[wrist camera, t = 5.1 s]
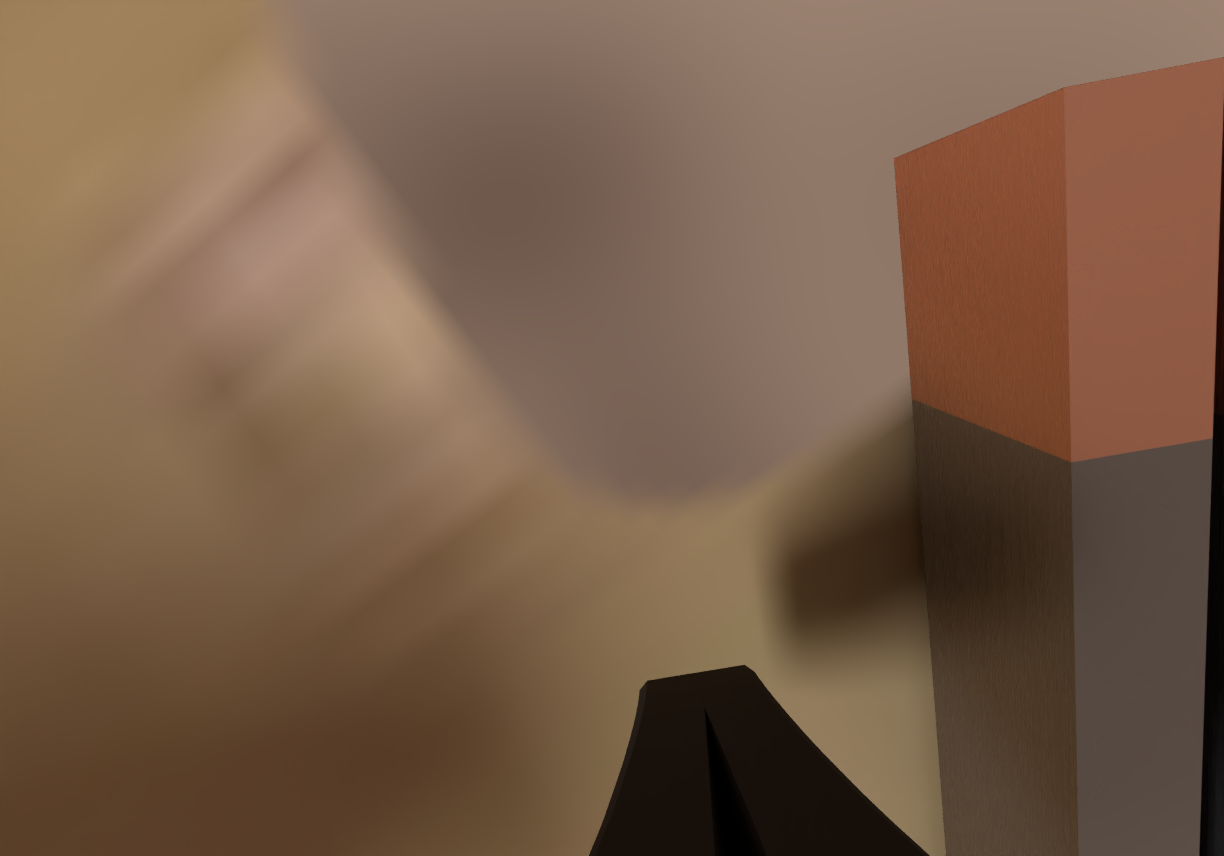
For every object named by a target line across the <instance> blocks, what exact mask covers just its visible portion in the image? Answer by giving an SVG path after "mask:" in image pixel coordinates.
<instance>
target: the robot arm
mask: <svg viewBox="0 0 1224 856" xmlns="http://www.w3.org/2000/svg"><path fill="white" fill-rule="evenodd" d="M589 856H930V855H928V854H927V853H926V852H925V851H924V850H923V849H922V848H921V847H920V846H918V845H917V844H916V843H915V842H914V841H913V840H912V839H911V838H910V837H909V836H908V835H906V834H905V833H904V832H903V831H902V830H901V829H900V828H899V827H898V826H897V825H895V824H894V823H893V822H892V821H891V820H890V819H889V818H888V817H887V816H886V815H885V814H884V813H883V812H882V811H880V810H879V809H878V808H877V807H876V806H875V805H874V804H873V803H872V802H871V801H870V800H869V799H868V798H867V797H866V796H865V795H864V794H863V793H862V792H861V791H860V790H859V789H858V788H857V787H856V786H855V785H854V784H853V783H852V782H851V781H850V780H849V779H848V778H847V777H846V776H845V775H844V774H843V773H842V772H841V771H840V770H839V769H838V768H837V767H836V766H835V765H834V764H833V763H832V762H831V761H830V760H829V759H828V758H827V757H826V756H825V755H824V754H823V753H822V752H821V750H820V749H819V748H818V747H817V746H816V745H815V744H814V743H813V742H812V741H811V740H810V739H809V738H808V736H807V735H806V734H805V733H804V732H803V731H802V730H801V729H800V727H799V726H798V725H797V724H796V723H795V722H794V721H793V720H792V718H791V717H790V716H789V715H788V714H787V713H786V712H785V710H784V709H783V708H782V707H781V706H780V704H779V703H778V702H777V701H776V700H775V698H774V697H773V696H772V695H771V693H770V692H769V691H768V690H767V688H766V687H765V686H764V684H763V683H762V682H761V680H760V679H759V678H758V676H757V675H756V673H755V672H754V671H752V670H751V669H750V668H748V667H747V666H746V665H741V666H735V667H729V668H723V669H717V670H710V671H704V672H698V673H692V674H686V675H680V676H674V677H667V678H661V679H655V680H649V681H647V682H646V683H645V684H644V686H643V687H642V688H641V689H640V692H639V701H638V707H637V712H636V717H635V721H634V726H633V730H632V733H631V737H630V741H629V744H628V748H627V751H626V755H625V758H624V761H623V765H622V768H621V771H620V773H619V776H618V779H617V782H616V785H615V788H614V791H613V794H612V797H611V800H610V803H609V806H608V808H607V811H606V814H605V817H604V820H603V822H602V825H601V828H600V830H599V833H598V835H597V838H596V840H595V842H594V845H593V847H592V850H591V852H590V854H589Z"/></svg>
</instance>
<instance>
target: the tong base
mask: <svg viewBox="0 0 1224 856" xmlns="http://www.w3.org/2000/svg"><path fill="white" fill-rule="evenodd" d="M1199 856H1224V102H1223V133H1222V164H1221V195H1220V226H1219V257H1218V288H1217V319H1216V350H1215V381H1214V412H1213V444H1212V474H1211V506H1210V537H1209V568H1208V599H1207V630H1206V661H1205V692H1204V723H1203V754H1202V785H1201V816H1200V847H1199Z"/></svg>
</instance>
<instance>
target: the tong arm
mask: <svg viewBox="0 0 1224 856" xmlns="http://www.w3.org/2000/svg"><path fill="white" fill-rule="evenodd" d="M1223 102H1224V57H1223V58H1218V59H1212V60H1208V61H1202V62H1197V63H1191V64H1186V65H1181V66H1175V67H1170V68H1165V69H1159V70H1155V71H1149V72H1143V73H1139V74H1133V75H1128V76H1122V77H1118V78H1112V79H1106V80H1101V81H1096V82H1091V83H1085V84H1080V85H1075V86H1069V87H1064V88H1062V89H1059V90H1057V91H1054V92H1052V93H1050V94H1047V95H1045V96H1042V97H1040V98H1038V99H1035V100H1033V101H1031V102H1028V103H1026V104H1023V105H1021V106H1018V107H1016V108H1014V109H1011V110H1009V111H1007V112H1004V113H1002V114H999V115H997V116H994V117H992V118H990V119H987V120H985V121H982V122H980V123H978V124H975V125H973V126H971V127H968V128H966V129H963V130H961V131H958V132H956V133H954V134H952V135H949V136H946V137H944V138H941V139H939V140H937V141H934V142H932V143H930V144H927V145H925V146H922V147H920V148H917V149H915V150H913V151H910V152H908V153H905V154H903V155H901V156H899V157H896V158H894V166H895V178H896V179H895V180H896V193H897V205H898V219H899V233H900V246H901V259H902V272H903V284H904V285H903V286H904V299H905V312H906V324H907V325H906V326H907V339H908V353H909V366H910V379H911V393H912V406H913V419H914V433H915V446H916V459H917V473H918V486H919V499H920V513H921V526H922V539H923V553H924V566H925V579H926V593H927V606H928V619H929V633H930V646H931V659H932V672H933V686H934V699H935V712H936V726H937V739H938V752H939V766H940V779H941V792H942V806H943V819H944V832H945V846H946V856H1199V847H1200V816H1201V785H1202V754H1203V723H1204V692H1205V661H1206V630H1207V599H1208V568H1209V537H1210V506H1211V474H1212V444H1213V412H1214V381H1215V350H1216V319H1217V288H1218V257H1219V226H1220V195H1221V164H1222V133H1223Z"/></svg>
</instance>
